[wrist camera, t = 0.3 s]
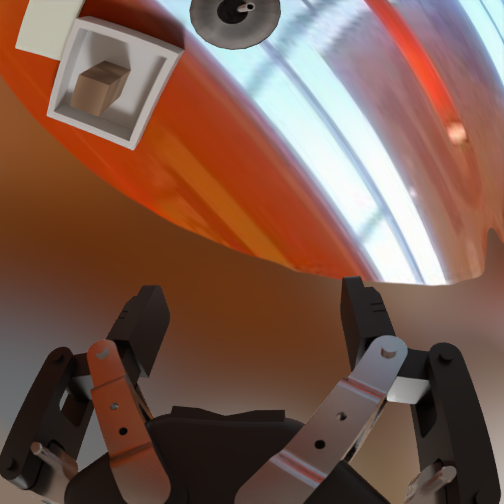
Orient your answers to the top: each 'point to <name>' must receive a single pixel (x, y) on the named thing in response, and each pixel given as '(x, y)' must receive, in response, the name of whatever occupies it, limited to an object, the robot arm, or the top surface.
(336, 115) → the top surface
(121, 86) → the walnut block
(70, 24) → the sage coaster
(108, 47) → the grey tub
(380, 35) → the top surface
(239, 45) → the beverage cup
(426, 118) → the top surface
